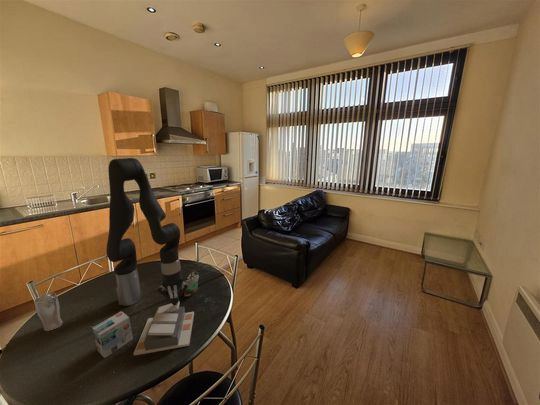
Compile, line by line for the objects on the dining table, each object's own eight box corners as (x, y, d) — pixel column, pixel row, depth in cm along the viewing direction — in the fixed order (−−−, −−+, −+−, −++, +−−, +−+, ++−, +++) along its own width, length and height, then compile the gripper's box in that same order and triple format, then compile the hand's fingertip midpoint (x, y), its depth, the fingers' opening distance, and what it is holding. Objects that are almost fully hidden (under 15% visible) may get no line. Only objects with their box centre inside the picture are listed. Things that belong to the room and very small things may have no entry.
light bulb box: (104, 359, 82) (98, 335, 79) (96, 350, 86) (91, 327, 83) (134, 338, 91) (130, 316, 88) (125, 331, 94) (121, 310, 92)
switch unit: (133, 355, 83) (131, 343, 82) (148, 320, 100) (146, 309, 99) (189, 345, 88) (187, 333, 86) (194, 313, 105) (193, 303, 103)
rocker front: (147, 335, 84) (148, 332, 83) (151, 326, 88) (151, 323, 87) (173, 335, 86) (173, 332, 86) (175, 326, 90) (175, 324, 90)
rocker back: (157, 316, 95) (156, 314, 95) (159, 309, 100) (158, 307, 99) (178, 309, 97) (177, 307, 96) (179, 302, 101) (178, 300, 101)
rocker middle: (152, 323, 89) (152, 320, 89) (155, 315, 93) (155, 312, 93) (175, 323, 92) (176, 321, 91) (177, 316, 96) (178, 313, 95)
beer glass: (68, 322, 99) (60, 294, 95) (48, 334, 93) (39, 304, 89) (58, 318, 101) (50, 290, 97) (38, 330, 95) (29, 300, 91)
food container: (195, 299, 114) (193, 282, 112) (183, 299, 114) (181, 282, 112) (202, 285, 126) (201, 269, 124) (192, 284, 126) (190, 269, 124)
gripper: (151, 276, 89) (157, 312, 93) (186, 272, 92) (189, 307, 96) (156, 266, 96) (161, 300, 100) (188, 263, 99) (191, 296, 103)
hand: (175, 303), depth 98 cm, fingers closed
